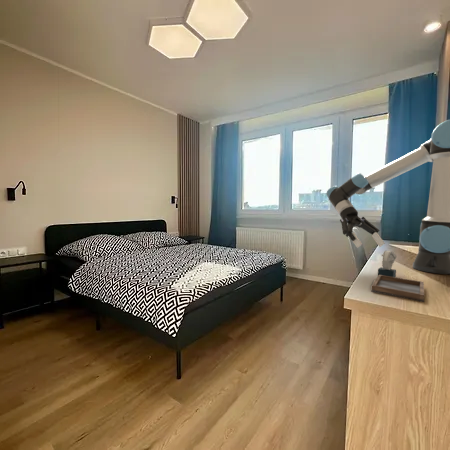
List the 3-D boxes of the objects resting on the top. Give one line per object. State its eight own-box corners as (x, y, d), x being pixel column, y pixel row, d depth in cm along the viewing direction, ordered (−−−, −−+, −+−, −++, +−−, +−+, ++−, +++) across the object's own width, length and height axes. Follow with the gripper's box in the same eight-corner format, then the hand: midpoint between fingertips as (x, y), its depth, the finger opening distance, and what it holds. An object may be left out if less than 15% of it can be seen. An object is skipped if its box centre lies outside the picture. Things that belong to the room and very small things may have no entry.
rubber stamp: (396, 276, 104) (398, 250, 103) (391, 279, 98) (394, 252, 97) (381, 273, 108) (383, 248, 107) (376, 276, 102) (378, 250, 101)
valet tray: (378, 279, 98) (378, 274, 98) (423, 287, 89) (423, 281, 89) (371, 291, 84) (371, 285, 83) (423, 302, 75) (424, 295, 75)
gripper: (360, 216, 129) (385, 249, 116) (322, 215, 121) (344, 251, 108) (370, 206, 124) (397, 239, 111) (331, 205, 116) (355, 241, 103)
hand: (371, 245), depth 110 cm, fingers open, 13 cm apart
